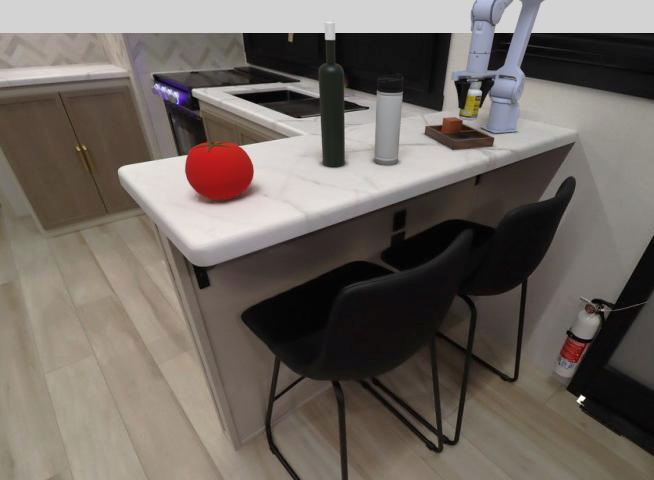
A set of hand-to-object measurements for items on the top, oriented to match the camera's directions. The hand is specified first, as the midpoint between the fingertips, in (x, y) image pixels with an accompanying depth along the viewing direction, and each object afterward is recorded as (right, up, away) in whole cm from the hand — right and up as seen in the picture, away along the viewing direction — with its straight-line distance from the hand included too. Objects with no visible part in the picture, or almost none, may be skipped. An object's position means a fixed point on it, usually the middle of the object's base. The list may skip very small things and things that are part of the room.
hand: (469, 107), depth 111 cm
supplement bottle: (0, -2, +2) cm, 3 cm away
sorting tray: (-2, -6, +8) cm, 10 cm away
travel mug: (-25, -20, -10) cm, 34 cm away
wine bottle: (-39, -21, -13) cm, 46 cm away
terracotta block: (-3, -3, +11) cm, 12 cm away
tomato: (-60, -34, -31) cm, 76 cm away
